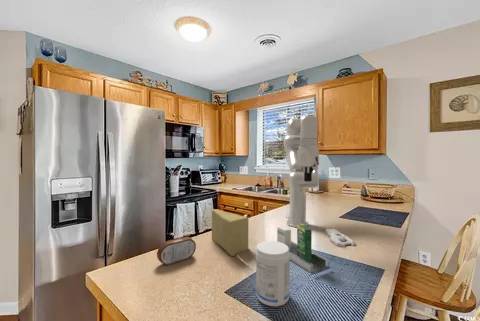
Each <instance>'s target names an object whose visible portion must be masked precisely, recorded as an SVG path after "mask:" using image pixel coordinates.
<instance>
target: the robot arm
mask: <svg viewBox="0 0 480 321" xmlns="http://www.w3.org/2000/svg"><path fill="white" fill-rule="evenodd" d="M286 131H287V135H286V136H284V138H283V148H284V151H285V153H286V155H287V158H288V167H289V171H290V173H289V175H288V188H289V213H288V214H287V215H286V219H288V220H287V221H286V224H287V226H290V227H293V228H297V224H304V225H305V226H307V227H309V222H308V221H307V195H306V192H304V191H303V189H316V188H317V187H319V184H320V178H319V173H318V169H319V165H320V154H319V147H318V146H319V145H318V118H317V117H316V116H314V115H307V116H303V117H301V118H292V119H289V120H288V121H287V124H286ZM297 148H298V149H297Z"/></svg>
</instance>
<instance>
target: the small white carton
mask: <svg viewBox="0 0 480 321" xmlns="http://www.w3.org/2000/svg"><path fill="white" fill-rule="evenodd" d="M276 228H277V231H276V235H277V237H276V239H277V240H276V241H277V242H281V243H283V244H285V245H287V246H288V248H289V251H291V241H292V240H291V239H292V229H290V228H288V227H286V226H283V225H281V226H277V227H276Z"/></svg>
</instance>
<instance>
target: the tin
mask: <svg viewBox="0 0 480 321" xmlns="http://www.w3.org/2000/svg"><path fill="white" fill-rule="evenodd" d="M196 249H197V244H196V242H195V240H194V239H193V238H192V237H190V236H184V237H180V238H179V237H178V238H175V239H170V240H167V241H165V242H163V243H162V244H161V245H160V246H159V247H158V248H157V252H156V257H157V260H159V262H160V263H161V264H163V265H166V266H169V265H172V264H175V263H179V262H182V261H184V260H188V259H190V258H192V256H193V255H194V254H195V252H196Z"/></svg>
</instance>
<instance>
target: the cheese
mask: <svg viewBox="0 0 480 321" xmlns="http://www.w3.org/2000/svg"><path fill="white" fill-rule="evenodd" d="M211 239H212V241H214V242H215V243H216V244H218V245H219V246H220V248H222V249H223V250H224V251H226V253H228V255H229V256H230V257H234V256H235V257H236V256H237V255H238V253H241V252H244V251H246V250H247V251H248V250H249V218H248V217H247V216H243V215H241V214H236V213H231V212H227V211H223V210H222V209H218V208H217V209H215V208H214V209H212V210H211Z"/></svg>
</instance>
